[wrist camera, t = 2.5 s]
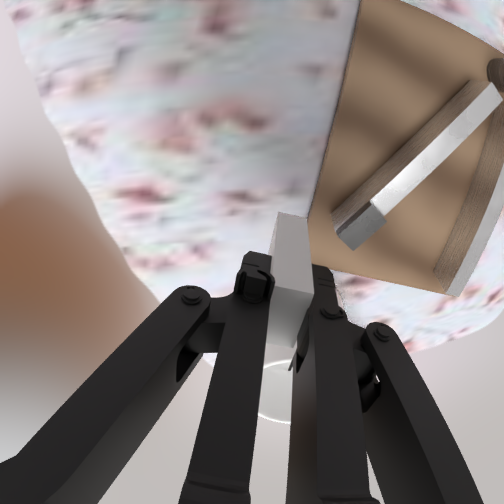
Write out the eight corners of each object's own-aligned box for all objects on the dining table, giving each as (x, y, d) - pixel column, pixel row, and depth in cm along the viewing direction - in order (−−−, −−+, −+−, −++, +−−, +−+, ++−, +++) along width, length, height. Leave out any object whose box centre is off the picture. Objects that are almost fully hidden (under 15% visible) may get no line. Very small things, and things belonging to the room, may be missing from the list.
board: (362, -8, 16) (365, -12, 15) (528, 76, 16) (536, 77, 15) (297, 254, 27) (297, 261, 26) (450, 289, 27) (455, 296, 26)
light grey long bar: (470, 79, 17) (497, 82, 13) (481, 96, 17) (510, 102, 14) (330, 213, 23) (336, 237, 20) (344, 227, 24) (352, 252, 21)
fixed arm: (489, 52, 15) (530, 52, 11) (516, 69, 15) (558, 74, 11) (418, 268, 25) (439, 307, 20) (445, 274, 25) (468, 313, 20)
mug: (388, 309, 29) (413, 394, 20) (338, 359, 33) (345, 441, 24) (283, 254, 27) (276, 342, 19) (240, 317, 31) (221, 403, 23)
